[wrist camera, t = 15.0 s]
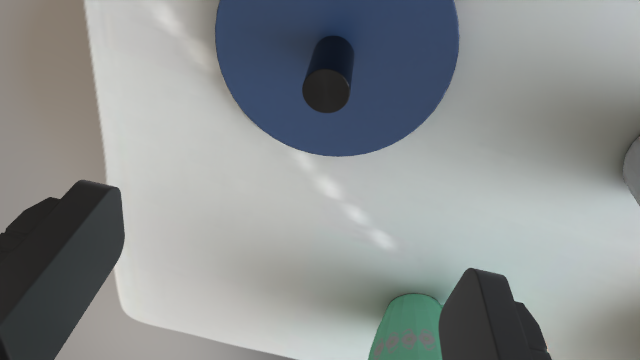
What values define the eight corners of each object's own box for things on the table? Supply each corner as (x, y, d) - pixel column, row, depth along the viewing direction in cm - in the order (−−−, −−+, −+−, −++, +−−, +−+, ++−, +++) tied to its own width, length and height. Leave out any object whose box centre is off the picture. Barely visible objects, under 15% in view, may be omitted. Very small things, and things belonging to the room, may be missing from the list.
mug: (384, 350, 42) (387, 464, 34) (341, 290, 38) (331, 405, 30) (541, 320, 37) (587, 445, 29) (514, 245, 33) (559, 369, 25)
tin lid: (229, -120, 21) (186, -115, 16) (499, -51, 21) (535, -26, 16) (214, 121, 29) (182, 172, 24) (409, 167, 29) (416, 225, 25)
